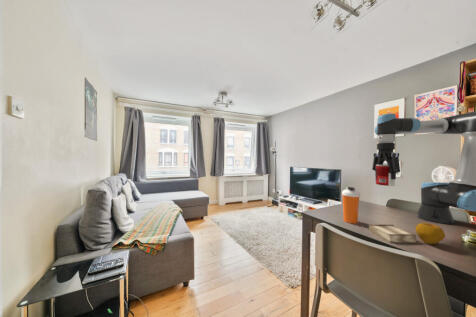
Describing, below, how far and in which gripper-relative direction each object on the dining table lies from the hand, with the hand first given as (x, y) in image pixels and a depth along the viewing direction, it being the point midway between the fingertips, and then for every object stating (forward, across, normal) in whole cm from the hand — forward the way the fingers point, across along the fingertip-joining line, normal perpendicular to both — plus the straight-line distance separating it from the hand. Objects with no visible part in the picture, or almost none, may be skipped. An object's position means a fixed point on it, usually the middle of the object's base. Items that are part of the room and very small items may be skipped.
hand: (384, 184), depth 95 cm
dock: (+24, +11, -6) cm, 27 cm away
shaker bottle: (+24, -7, -14) cm, 28 cm away
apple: (+24, +18, +5) cm, 30 cm away
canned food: (0, 0, 0) cm, 0 cm away
